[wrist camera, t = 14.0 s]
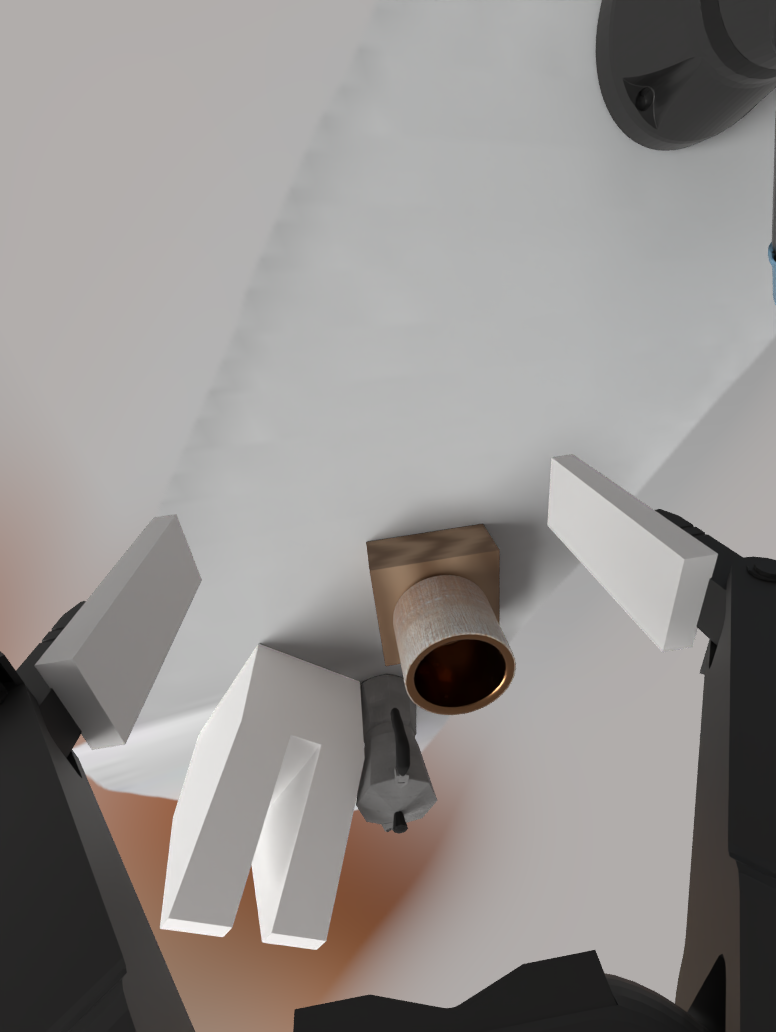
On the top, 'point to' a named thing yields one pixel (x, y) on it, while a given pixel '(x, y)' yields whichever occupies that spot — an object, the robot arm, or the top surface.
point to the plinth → (429, 570)
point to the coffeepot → (391, 757)
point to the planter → (451, 646)
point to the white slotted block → (268, 803)
